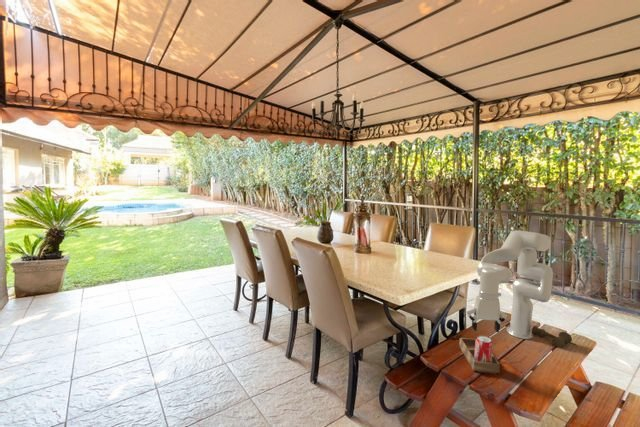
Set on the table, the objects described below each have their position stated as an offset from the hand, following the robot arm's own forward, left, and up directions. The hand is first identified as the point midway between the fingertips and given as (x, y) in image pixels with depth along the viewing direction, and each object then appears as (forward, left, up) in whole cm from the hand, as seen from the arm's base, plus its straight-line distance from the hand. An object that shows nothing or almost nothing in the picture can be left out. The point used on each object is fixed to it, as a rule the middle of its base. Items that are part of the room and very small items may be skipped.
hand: (485, 330), depth 142 cm
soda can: (0, 0, -16) cm, 16 cm away
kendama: (-28, +47, -18) cm, 58 cm away
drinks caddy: (-5, 0, -17) cm, 18 cm away
